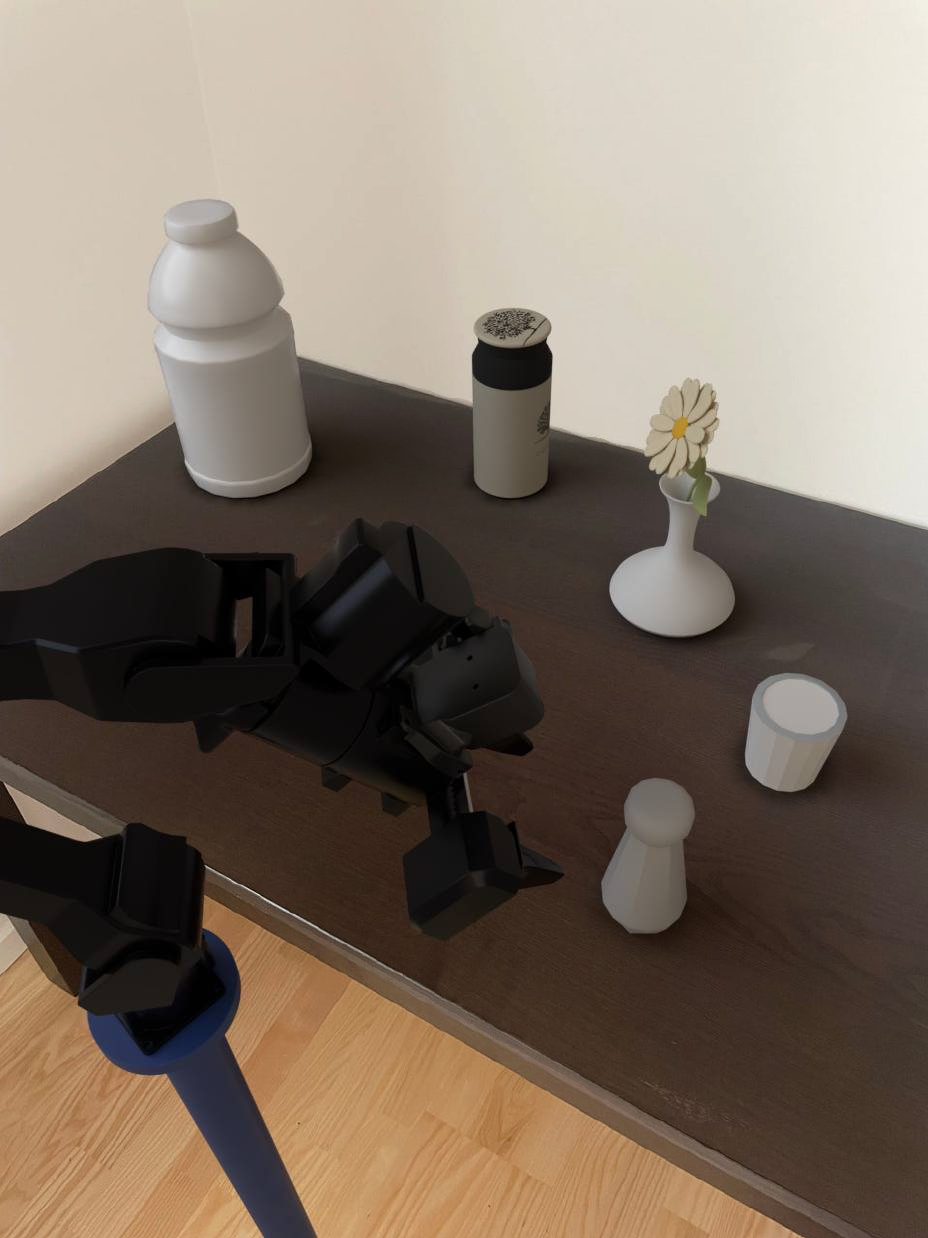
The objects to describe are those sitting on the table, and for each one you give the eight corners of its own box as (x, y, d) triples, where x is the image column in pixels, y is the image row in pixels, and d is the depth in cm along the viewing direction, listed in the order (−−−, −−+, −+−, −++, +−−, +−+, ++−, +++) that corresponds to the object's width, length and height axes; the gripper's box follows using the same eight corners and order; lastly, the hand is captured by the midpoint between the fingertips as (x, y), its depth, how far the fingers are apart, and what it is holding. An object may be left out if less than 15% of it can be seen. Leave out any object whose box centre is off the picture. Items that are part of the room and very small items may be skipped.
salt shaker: (687, 947, 66) (717, 841, 57) (602, 947, 66) (619, 841, 57) (674, 872, 70) (701, 761, 61) (595, 872, 71) (610, 762, 62)
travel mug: (459, 484, 105) (454, 331, 93) (500, 449, 110) (500, 298, 97) (522, 509, 102) (525, 353, 89) (560, 472, 106) (569, 318, 94)
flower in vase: (613, 559, 96) (640, 323, 78) (732, 572, 94) (785, 334, 76) (600, 652, 87) (626, 409, 69) (730, 670, 85) (791, 424, 67)
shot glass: (828, 741, 79) (850, 683, 74) (822, 808, 74) (845, 751, 69) (742, 721, 80) (758, 663, 76) (731, 785, 76) (747, 728, 71)
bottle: (268, 415, 116) (223, 172, 97) (338, 463, 109) (304, 209, 89) (164, 463, 109) (93, 211, 90) (231, 517, 102) (170, 256, 82)
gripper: (473, 777, 40) (696, 883, 48) (423, 504, 53) (604, 625, 62) (306, 903, 45) (536, 979, 53) (299, 623, 58) (483, 720, 67)
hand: (542, 810), depth 59 cm, fingers open, 9 cm apart
